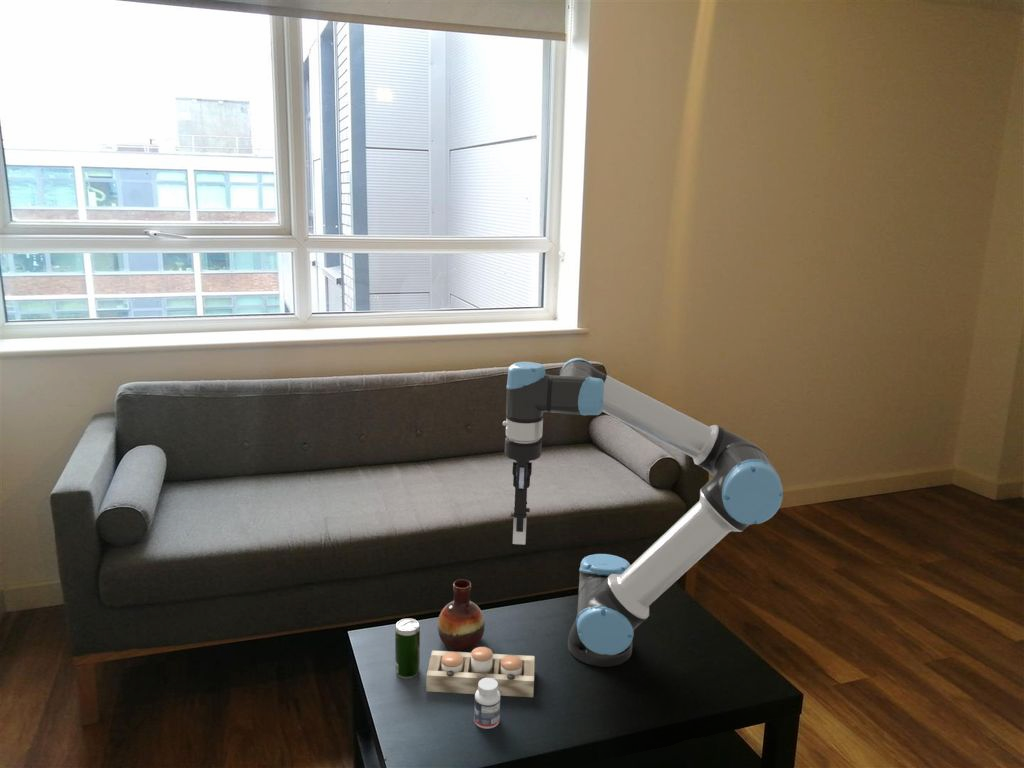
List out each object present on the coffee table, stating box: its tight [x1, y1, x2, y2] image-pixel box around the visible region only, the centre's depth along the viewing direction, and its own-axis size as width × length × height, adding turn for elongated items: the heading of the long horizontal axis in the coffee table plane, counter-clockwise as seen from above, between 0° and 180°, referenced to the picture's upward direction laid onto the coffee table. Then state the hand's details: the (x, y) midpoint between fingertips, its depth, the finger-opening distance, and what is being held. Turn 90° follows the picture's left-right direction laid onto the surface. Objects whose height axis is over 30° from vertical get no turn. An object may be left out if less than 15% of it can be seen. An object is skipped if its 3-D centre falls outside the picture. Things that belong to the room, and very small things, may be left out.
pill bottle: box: [473, 678, 501, 730], centre depth 162 cm, size 5×5×9 cm
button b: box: [471, 646, 494, 674], centre depth 174 cm, size 5×5×4 cm
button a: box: [501, 656, 522, 676], centre depth 174 cm, size 5×5×4 cm
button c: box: [441, 653, 463, 672], centre depth 175 cm, size 5×5×4 cm
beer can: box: [394, 618, 421, 680], centre depth 176 cm, size 5×5×12 cm
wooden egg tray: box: [425, 650, 535, 698], centre depth 175 cm, size 23×9×4 cm, turn 88°
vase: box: [437, 578, 486, 652], centre depth 188 cm, size 11×11×15 cm
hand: (519, 542), depth 169 cm, fingers closed
